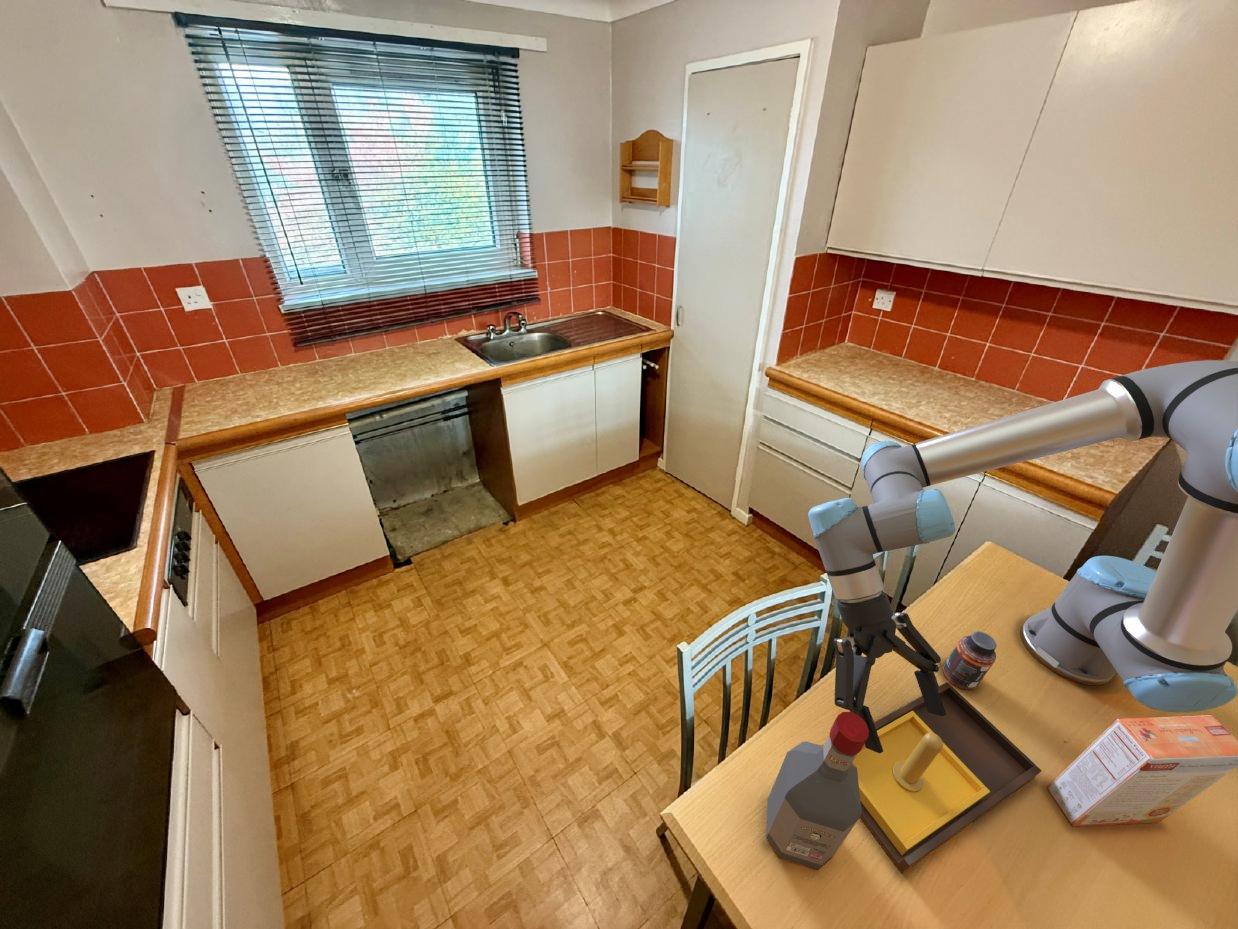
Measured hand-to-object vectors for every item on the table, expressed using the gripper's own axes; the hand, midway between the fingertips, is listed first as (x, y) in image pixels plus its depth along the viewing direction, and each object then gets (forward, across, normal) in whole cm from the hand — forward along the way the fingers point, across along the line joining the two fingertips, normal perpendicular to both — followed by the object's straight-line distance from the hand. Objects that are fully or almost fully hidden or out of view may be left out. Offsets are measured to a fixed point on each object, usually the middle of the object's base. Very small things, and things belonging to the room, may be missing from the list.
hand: (906, 731), depth 78 cm
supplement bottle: (+4, -26, -12) cm, 29 cm away
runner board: (+10, -5, -5) cm, 12 cm away
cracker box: (+20, -26, +5) cm, 34 cm away
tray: (+9, 0, -4) cm, 10 cm away
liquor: (+9, +20, -7) cm, 23 cm away
